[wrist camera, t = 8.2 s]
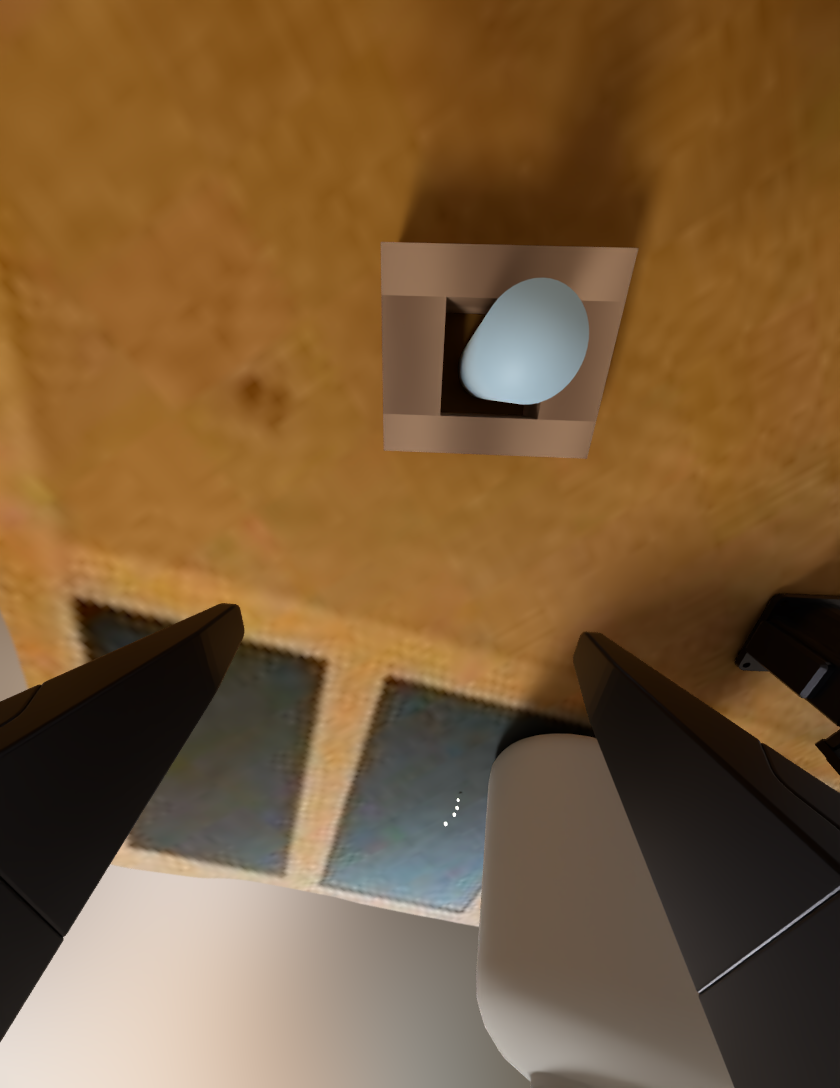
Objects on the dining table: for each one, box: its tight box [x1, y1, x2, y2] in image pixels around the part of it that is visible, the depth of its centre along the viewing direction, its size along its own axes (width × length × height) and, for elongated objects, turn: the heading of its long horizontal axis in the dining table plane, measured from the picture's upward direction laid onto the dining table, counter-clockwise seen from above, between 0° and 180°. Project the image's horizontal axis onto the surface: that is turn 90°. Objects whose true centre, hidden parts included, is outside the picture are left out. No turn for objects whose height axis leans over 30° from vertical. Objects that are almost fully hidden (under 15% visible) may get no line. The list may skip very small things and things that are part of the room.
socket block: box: [381, 242, 638, 459], centre depth 16 cm, size 10×8×3 cm
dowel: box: [458, 278, 589, 404], centre depth 13 cm, size 3×3×9 cm
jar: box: [444, 733, 734, 1088], centre depth 20 cm, size 19×15×25 cm
